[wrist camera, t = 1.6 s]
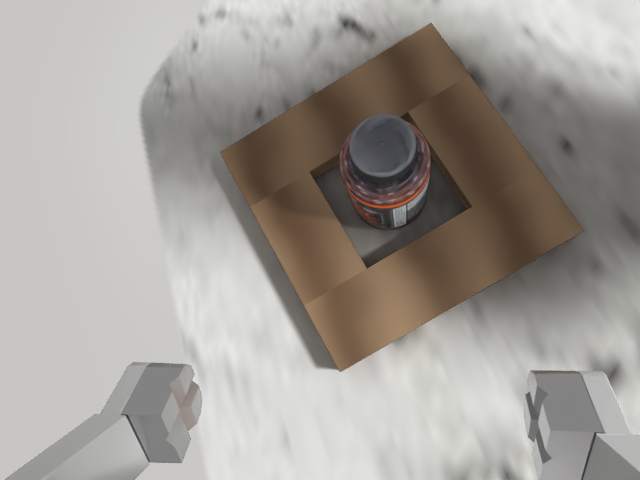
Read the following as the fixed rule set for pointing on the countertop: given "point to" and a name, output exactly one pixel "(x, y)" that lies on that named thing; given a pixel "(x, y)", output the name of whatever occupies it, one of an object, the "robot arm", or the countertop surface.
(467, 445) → the countertop surface
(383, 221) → the supplement bottle
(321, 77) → the countertop surface
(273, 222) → the holder block
